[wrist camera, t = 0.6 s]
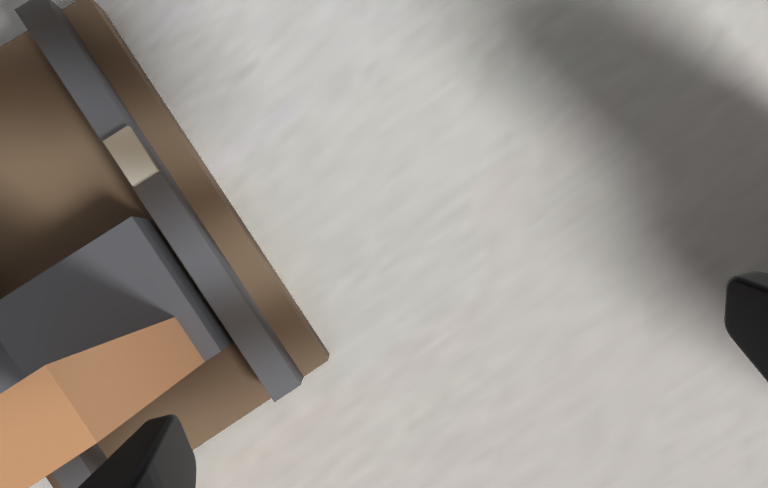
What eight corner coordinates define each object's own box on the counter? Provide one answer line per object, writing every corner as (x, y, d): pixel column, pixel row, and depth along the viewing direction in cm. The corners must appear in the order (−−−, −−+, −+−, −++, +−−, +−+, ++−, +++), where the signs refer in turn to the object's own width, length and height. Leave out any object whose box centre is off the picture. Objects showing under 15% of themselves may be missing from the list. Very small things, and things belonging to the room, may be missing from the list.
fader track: (329, 354, 25) (326, 369, 22) (95, 508, 25) (55, 548, 21) (103, 9, 25) (65, -28, 22) (-141, 158, 24) (-218, 143, 21)
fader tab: (232, 342, 23) (125, 424, 12) (96, 431, 23) (-139, 596, 12) (150, 219, 23) (-32, 190, 12) (13, 306, 23) (-302, 357, 12)
